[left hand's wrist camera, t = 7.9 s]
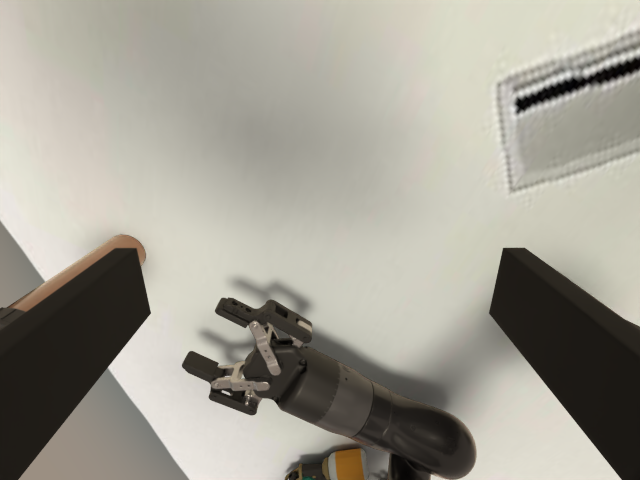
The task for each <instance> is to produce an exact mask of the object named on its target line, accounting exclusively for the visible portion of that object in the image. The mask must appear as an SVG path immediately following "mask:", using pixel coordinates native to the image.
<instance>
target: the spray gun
mask: <svg viewBox="0 0 640 480" xmlns="http://www.w3.org/2000/svg"><path fill="white" fill-rule="evenodd" d="M368 477H369V475H368V466H367V459H366V453H365V451H364V450H363V449H361V448H359V449H351V450H343V451H336V452H333V453H331V455H330V456H329V458H328V457H327V458H325V459H324V462H323V464H303V465H302V464H299V467H298V468H296V469H295V470H293V471H292V472H291V473H289V474H288V475H287V476H286V477H285V480H288V478H289V480H367V478H368Z"/></svg>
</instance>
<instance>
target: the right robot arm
mask: <svg viewBox="0 0 640 480" xmlns="http://www.w3.org/2000/svg"><path fill="white" fill-rule="evenodd" d="M560 274H561V273H560ZM563 276H564V275H563ZM564 277H565V276H564ZM567 279H568V278H567ZM578 287H579V286H578ZM581 289H582V288H581ZM585 292H586V291H585ZM588 294H589V293H588ZM592 297H593V296H592ZM595 299H596V298H595ZM596 300H597V299H596ZM599 302H600V301H599ZM603 305H604V304H603ZM606 307H607V306H606ZM610 310H611V309H610ZM215 312H216V314H218V315H220V316H222V317H224V318H226V319H228V320H230V321H232V322H234V323H236V324H238V325H240V326H242V327H244V328H246V327H247V325H249V328H250V330H251V332H252V333H253V335H254V337H255V339H256V345H255V347H254V351H253V352H251V353H250V354H249V355H248V356H247V358H246V360H245V361H240V362H237V363H235V364H234V365H225V366H218V364H219V363H217V362H215V361H213V360H211V359H209V358H206V357H204V356H202V355H200V354H198V353H196V352H193V351H190V352H189V353H188V354H187V356H186V358H185V360H184V362H183V364H182V367H183V368H184V369H185V370H186V371H187V372H188V373H190V374H192V375H194V376H197V377H199V378H201V379H203V380H205V381H208V382H209V383H210V384H211V391H210V395H209V399H210V400H212V401H214V402H217V403H220V404H222V405H225V406H228V407H230V408H233V409H235V410H238V411H241V412H243V413H246V414H249V415H255V414H256V413H257V408H258V404H259V403H260V401H261V400H262V398H268V399H272V400H274V401H275V402H276V404H277V405H278V407H279V408H280V409H281V410H282V411H285V412H287V413H289V414H291V415H294V416H296V417H298V418H300V419H302V420H305V421H307V422H309V423H311V424H314V425H316V426H318V427H320V428H323V429H325V430H327V431H329V432H332V433H336V434H340V435H343V436H346V437H348V438H351V439H353V440H355V441H357V442H359V443H362V444H364V445H366V446H369V447H371V448H374V449H377V450H381V451H385V452H389V453H390V457H389V467H388V477H387V480H430V479H431V475H434V476H437V477H440V478H443V479H448V480H455V479H460V478H462V477H464V476H466V475H467V474H468V473H469V472H470V471H471V470H472V469H473V467H474V465H475V462H476V456H477V450H476V445H475V441H474V439H473V436H472V434H471V433H470V431H469V429H468V428H467V427H466V426H465V425H464V423H463V422H461V421H460V420H459V419H458V418H456V417H455V416H453V415H451V414H449V413H447V412H445V411H443V410H440V409H438V408H435V407H432V406H429V405H426V404H423V403H421V402H418V401H414V400H411V399H408V398H405V397H403V396H400V395H398V394H396V393H394V392H392V391H391V390H389V389H387V388H386V387H384V386H382V385H380V384H378V383H376V382H374V381H372V380H370V379H367V378H366V377H364V376H363V375H361V374H360V373H358V372H357V371H355V370H354V369H352V368H350V367H348V366H346V365H344V364H342V363H340V362H338V361H336V360H334V359H332V358H330V357H328V356H326V355H324V354H322V353H320V352H318V351H316V350H314V349H312V348H310V347H307V346H306V347H303V346H302V345H303V343H309V342H310V341H311V339H312V323H311V322H310V321H308V320H306V319H305V318H303V317H301V316H300V315H298V314H296V313H295V312H293V311H291V310H289V309H288V308H286V307H284V306H283V305H281V304H279V303H278V302H276V301H274V300H268V301H267V302H266V304H265V305H264V306H262V307H261V308H259V309H254V308H251V307H249V306H247V305H245V304H243V303H241V302H240V301H238V300H236V299H234V298H228V299H226V298H221V300H220V301H219V303H218V305H217V307H216V309H215ZM613 312H614V311H613ZM617 315H618V314H617ZM620 317H621V316H620ZM273 326H275V327H277V328H278V329H280V330H282V331H284V332H286V333H287V334H289V336H290V338H283V339H279V337H278V335H277V333H276V331H275V329H274V327H273ZM217 366H218V367H217ZM242 374H243V375H244V377H245V379H241V377H242ZM225 376H230V377H225ZM222 390H224V391H227V392H229V393H230V394H231V396H229V395H227V394H224V393H222Z"/></svg>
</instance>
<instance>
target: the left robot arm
mask: <svg viewBox="0 0 640 480" xmlns="http://www.w3.org/2000/svg"><path fill="white" fill-rule="evenodd" d="M150 314H151V312H150V307H149V302H148V298H147V293H146V289H145V284H144V279H143V275H142V270H141V265H140V261H139V256H138V251H137V248H115V249H113V250H112V251H110V252H109V253H108V254H106V255H105V256H103V257H102V258H101V259H99V260H98V261H96V262H95V263H94V264H92V265H91V266H89V267H88V268H87V269H85V270H84V271H83V272H81V273H80V274H78V275H77V276H76V277H74V278H73V279H71V280H70V281H69V282H67V283H66V284H64V285H63V286H62V287H60V288H59V289H57V290H56V291H55V292H53V293H52V294H50V295H49V296H48V297H46V298H45V299H43V300H42V301H41V302H39V303H38V304H37V305H35V306H34V307H32V308H31V309H30V310H28V311H27V312H25V313H24V314H23V315H21V316H20V317H18V318H17V319H16V320H14V321H13V322H11V323H10V324H8V325H6V326H4V327H2V328H0V480H18V479H19V478H20V477H21V475H22V474H23V473H24V472H25V470H26V469H27V468H28V467H29V465H30V464H31V463H32V462H33V460H34V459H35V458H36V457H37V455H38V454H39V453H40V452H41V450H42V449H43V448H44V447H45V445H46V444H47V443H48V442H49V440H50V439H51V438H52V437H53V435H54V434H55V433H56V432H57V430H58V429H59V428H60V427H61V425H62V424H63V423H64V422H65V420H66V419H67V418H68V416H69V415H70V414H71V413H72V411H73V410H74V409H75V408H76V406H77V405H78V404H79V403H80V401H81V400H82V399H83V398H84V396H85V395H86V394H87V393H88V391H89V390H90V389H91V388H92V386H93V385H94V384H95V383H96V381H97V380H98V379H99V378H100V376H101V375H102V374H103V373H104V371H105V370H106V369H107V368H108V366H109V365H110V364H111V363H112V361H113V360H114V359H115V358H116V356H117V355H118V354H119V353H120V351H121V350H122V349H123V348H124V346H125V345H126V344H127V342H128V341H129V340H130V339H131V337H132V336H133V335H134V334H135V332H136V331H137V330H138V329H139V327H140V326H141V325H142V324H143V322H144V321H145V320H146V319H147V317H148V316H149V315H150ZM489 314H490V315H491V316H492V317H493V319H494V320H495V321H496V322H497V324H498V325H499V326H500V327H501V329H502V330H503V331H504V332H505V334H506V335H507V336H508V337H509V339H510V340H511V341H512V342H513V344H514V345H515V346H516V348H517V349H518V350H519V351H520V353H521V354H522V355H523V356H524V358H525V359H526V360H527V361H528V363H529V364H530V365H531V366H532V368H533V369H534V370H535V371H536V373H537V374H538V375H539V376H540V378H541V379H542V380H543V381H544V383H545V384H546V385H547V386H548V388H549V389H550V390H551V391H552V393H553V394H554V395H555V396H556V398H557V399H558V400H559V401H560V403H561V404H562V405H563V406H564V408H565V409H566V410H567V411H568V413H569V414H570V415H571V416H572V418H573V419H574V420H575V422H576V423H577V424H578V425H579V427H580V428H581V429H582V430H583V432H584V433H585V434H586V435H587V437H588V438H589V439H590V440H591V442H592V443H593V444H594V445H595V447H596V448H597V449H598V450H599V452H600V453H601V454H602V455H603V457H604V458H605V459H606V460H607V462H608V463H609V464H610V465H611V467H612V468H613V469H614V470H615V472H616V473H617V474H618V475H619V477H620V478H621V479H622V480H640V327H639V326H637V325H635V324H633V323H631V322H629V321H627V320H625V319H623V318H622V317H620V316H619V315H617V314H616V313H615V312H613V311H612V310H610V309H609V308H608V307H606V306H605V305H603V304H602V303H601V302H599V301H598V300H596V299H595V298H594V297H592V296H591V295H590V294H588V293H587V292H585V291H584V290H583V289H581V288H580V287H578V286H577V285H576V284H574V283H573V282H571V281H570V280H569V279H567V278H566V277H564V276H563V275H562V274H560V273H559V272H557V271H556V270H555V269H553V268H552V267H551V266H549V265H548V264H546V263H545V262H544V261H542V260H541V259H539V258H538V257H537V256H535V255H534V254H532V253H531V252H530V251H528V250H527V249H525V248H503V251H502V256H501V261H500V265H499V270H498V275H497V279H496V284H495V289H494V293H493V298H492V302H491V307H490V312H489Z"/></svg>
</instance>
